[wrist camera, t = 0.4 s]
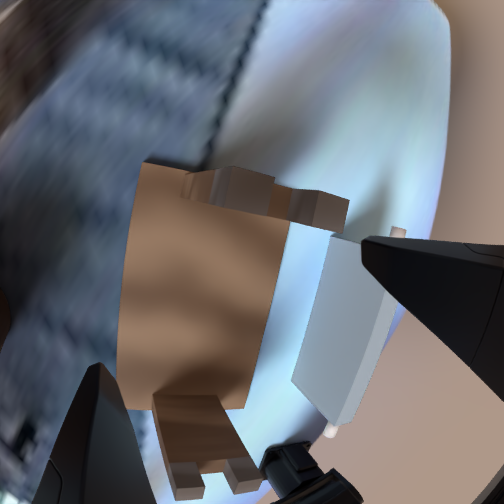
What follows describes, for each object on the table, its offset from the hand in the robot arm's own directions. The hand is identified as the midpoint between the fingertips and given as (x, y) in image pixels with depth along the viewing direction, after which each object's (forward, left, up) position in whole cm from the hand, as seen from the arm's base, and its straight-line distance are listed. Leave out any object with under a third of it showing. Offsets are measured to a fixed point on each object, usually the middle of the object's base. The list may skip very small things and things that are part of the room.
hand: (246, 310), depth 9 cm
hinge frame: (-5, -3, -14) cm, 16 cm away
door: (-5, -15, -15) cm, 21 cm away
